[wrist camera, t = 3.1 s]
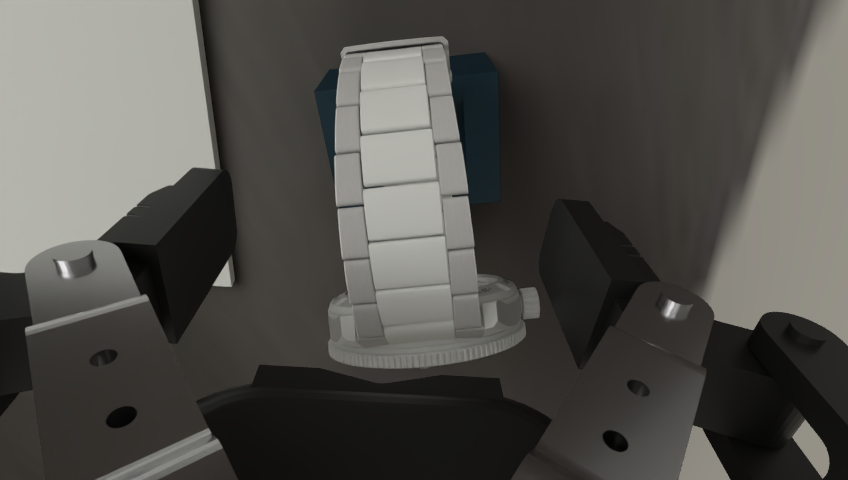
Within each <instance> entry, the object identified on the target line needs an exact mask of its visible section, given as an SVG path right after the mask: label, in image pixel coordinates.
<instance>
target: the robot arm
mask: <svg viewBox="0 0 848 480" xmlns="http://www.w3.org/2000/svg"><path fill="white" fill-rule="evenodd" d="M236 237H237V228H236V218H235V209H234V200H233V191H232V183H231V177H230V174H229V172H228V171H227V170H220V169H209V168H197V167H193V168H191V169H190V170H189V171H188V172H187V173H186V174H185V175H184V176H183V177H182V178H181V179H180V180H178V181H177V182H176V183H175V184H174V185H168V186H166V187H163V188H161V189H159V190H157V191H154V192H152V193H150V194H148V195H147V196H146V197H145V198H144V199H143V200H142V201H140V202H139V203H138V204H137V207H134V208H132V209H131V210H130V211H129V212H128V213H127V216H123V217H122V218H121V219H120V220H119V221H118V222H117V223H116V224H114V225H113V226H112V227H111V228H110V229H109V230H108V231H107V232H105V233H104V234H103V235H102V236H101V237H100V238H99V239H98V240H83V241H75V242H69V243H65V244H61V245H58V246H55V247H52V248H50V249H47V250H45V251H43V252H41V253H39V254H38V255H36V256H34V257H33V258H32V259H31V260H30V261H29V262H28V263H27V265H26V267H25V272H24V273H15V274H5V275H0V416H1V415H2V414H3V412H4V411H5V410H6V409H7V408H8V406H9V405H10V404H11V403H12V402H13V400H14V399H15V398H16V397H17V395H18V394H19V392H24V391H29V390H33V394H34V401H35V409H36V416H37V423H38V431H39V438H40V446H41V453H42V460H43V468H44V475H45V480H678V478H679V474H680V471H681V467H682V463H683V459H684V455H685V452H686V448H687V444H688V441H689V437H690V433H691V429H692V426H693V425H694V426H698V427H701V428H703V430H704V432H705V434H706V436H707V438H708V440H709V442H710V443H711V445H712V447H713V449H714V451H715V452H716V454H717V456H718V458H719V460H720V461H721V463H722V465H723V467H724V469H725V470H726V472H727V474H728V476H729V478H730V479H731V480H848V346H847V345H846V344H845V343H844V342H843V341H842V340H841V339H839V338H838V337H837V336H836V335H835V334H833V333H832V332H830V331H829V330H827V329H826V328H824V327H822V326H820V325H818V324H817V323H814V322H812V321H810V320H808V319H805V318H802V317H799V316H796V315H792V314H789V313H783V312H769V313H766V314H764V315H763V316H762V317H761V319H760V321H759V322H758V324H757V325H756V327H755V329H754V330H749V329H745V328H742V327H738V326H734V325H730V324H726V323H722V322H719V321H716V320H714V312H713V310H712V309H711V307H710V306H709V305H708V304H707V303H706V302H705V301H704V300H703V299H702V298H700V297H699V296H697V295H696V294H694V293H693V292H691V291H689V290H687V289H684V288H682V287H679V286H677V285H673V284H670V283H665V282H661V281H660V280H659V278H658V277H657V276H656V275H655V273H654V272H653V271H652V269H651V268H650V267H649V266H648V264H647V263H646V262H645V260H644V259H643V258H642V257H640V254H639V253H638V251H637V250H636V249H635V248H634V247H632V244H631V242H630V241H629V240H628V238H627V237H626V236H625V235H624V233H623V232H621V231H620V230H618V229H617V228H615V227H614V226H612V225H611V224H609V223H608V222H604V221H603V220H602V219H601V217H600V216H599V215H598V213H597V212H596V211H595V209H594V208H593V207H592V205H591V204H590V203H589V202H588V201H576V200H565V199H558V200H557V201H556V202H555V203H554V206H553V208H552V212H551V215H550V219H549V223H548V227H547V230H546V234H545V238H544V242H543V245H542V249H541V253H540V260H539V270H540V275H541V278H542V281H543V283H544V286H545V288H546V290H547V293H548V295H549V298H550V300H551V303H552V305H553V308H554V310H555V312H556V315H557V317H558V320H559V322H560V325H561V327H562V330H563V332H564V335H565V337H566V339H567V342H568V344H569V347H570V349H571V352H572V354H573V357H574V359H575V361H576V364H577V366H578V369H583V370H582V372H581V373H580V375H579V377H578V378H577V380H576V382H575V383H574V385H573V387H572V388H571V390H570V391H569V393H568V395H567V396H566V398H565V400H564V401H563V403H562V405H561V406H560V408H559V410H558V411H557V413H556V414H555V416H554V418H553V419H550V418H549V417H547V416H545V415H544V414H542V413H540V412H539V411H537V410H535V409H533V408H531V407H529V406H527V405H525V404H522V403H519V402H517V401H514V400H511V399H508V398H505V397H503V393H502V389H501V384H500V379H499V378H483V377H465V376H448V375H440V376H433V377H426V378H420V379H413V380H406V381H399V382H393V383H385V384H380V383H374V382H370V381H366V380H363V379H359V378H355V377H351V376H347V375H344V374H340V373H336V372H332V371H329V370H325V369H321V368H308V367H290V366H273V365H259V367H258V370H257V373H256V375H255V378H254V381H253V383H252V384H246V385H241V386H237V387H233V388H229V389H226V390H223V391H220V392H217V393H214V394H211V395H209V396H207V397H205V398H202V399H200V400H198V401H196V400H195V398H194V396H193V393H192V391H191V389H190V387H189V385H188V383H187V380H186V378H185V376H184V374H183V372H182V370H181V367H180V365H179V363H178V361H177V359H176V357H175V355H174V352H173V350H172V348H171V346H170V344H169V343H172V344H177V343H178V341H179V339H180V338H181V336H182V335H183V333H184V331H185V330H186V328H187V326H188V325H189V323H190V322H191V320H192V318H193V317H194V315H195V313H196V312H197V310H198V309H199V307H200V305H201V304H202V302H203V300H204V299H205V297H206V295H207V294H208V292H209V291H210V289H211V287H212V286H213V284H214V282H215V281H216V279H217V278H218V276H219V274H220V273H221V271H222V269H223V268H224V266H225V265H226V263H227V261H228V260H229V258H230V256H231V255H232V253H233V251H234V248H235V244H236ZM805 419H806V421H807V422H808V423H809V424H810V426H811V427H812V428H813V429H814V431H815V432H816V433H817V434H818V436H819V437H820V438H821V440H822V441H823V442H824V444H825V446H826V448H827V451H828V454H829V461H830V465H829V470H828V473H827V474H826V476H825V477H824V478H823V479H822V478H821V476H820V475H819V474H818V472H817V471H816V469H815V468H814V467H813V465H812V464H811V463H810V461H809V460H808V459H807V457H806V456H805V455H804V453H803V452H802V450H801V449H800V448H799V446H798V445H797V444H796V442H795V441H794V439H793V438H792V436H793V435H794V433H795V432H796V431H797V429H798V428H799V427H800V426H801V424H802V423H803V422H804V420H805Z"/></svg>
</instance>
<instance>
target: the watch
mask: <svg viewBox="0 0 848 480" xmlns="http://www.w3.org/2000/svg"><path fill="white" fill-rule="evenodd" d="M341 58H342V62H341V65H340V68H339V69H332V70H329V71H328V73H327V74H326V76H325V77H324V78H323V80H322V81H321V83H320V84H319V86H318V87H317V88H316V90H315V91H314V93H315V97H316V102H317V106H318V111H319V116H320V120H321V125H322V129H323V134H324V139H325V143H326V148H327V152H328V157H329V161H330V166H331V171H332V175H333V180H334V184H335V193H336V205H337V207H340V209H338V222H339V234H340V244H341V254H342V259H343V260H345V261H344V270H345V277H346V284H347V291H346V292H344V293H342V294H341V295H339V296H337V297H336V298H334V299H333V300H332V301H331V303H330V305H329V309H328V318H329V328H330V337H331V339H330V340H329V342H328V348H329V355H330V356H331V357H332V358H333V359H334V360H336V361H338V362H341V363H344V364H348V365H353V366H359V367H366V368H378V369H407V368H422V369H424V368H429V367H433V366H441V365H449V364H455V363H461V362H465V361H470V360H475V359H479V358H483V357H486V356H490V355H493V354H496V353H499V352H501V351H504V350H506V349H508V348H511V347H512V346H515V345H516V344H518V343H519V342H521V341H522V340H523V339H524V337H525V336H526V328H525V323H524V321H523V320H522V319H521V316H522V318H523V319H532V318H539V316H540V303H539V297H538V293H537V290H536V288H535V287H531V288H521V289H519V291H518V289H517V287H516V285H515V284H514V283H513V282H512V281H510V280H507V279H504V278H501V277H499V276H495V275H487V274H477V271H476V262H475V254H474V248H473V247H474V246H475V245H474V237H473V229H472V222H471V214H470V207H469V205H470V204H480V203H490V202H500V152H499V99H498V71H497V70H496V68H495V67H494V65H493V64H492V63H491V61H490V60H489V59H488V57H487V56H486V54H485V53H476V54H467V55H458V56H449V47H448V41H447V40H446V39H445V38H444V37H443V36H440V37H427V38H416V39H406V40H396V41H387V42H379V43H371V44H364V45H357V46H350V47H344V49H343V50H342V52H341ZM442 210H443V211H442ZM442 234H443V235H442ZM380 240H384V241H380ZM370 241H374V242H370Z"/></svg>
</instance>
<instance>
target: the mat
mask: <svg viewBox="0 0 848 480" xmlns="http://www.w3.org/2000/svg"><path fill="white" fill-rule="evenodd" d="M193 167H197V168H209V169H220V162H219V154H218V147H217V139H216V131H215V124H214V116H213V108H212V101H211V93H210V86H209V78H208V70H207V63H206V55H205V47H204V40H203V32H202V25H201V17H200V9H199V2H198V0H0V272H8V273H24V272H25V267H26V265H27V263H28V262H29V261H30V260H31V259H32V258H33V257H34V256H36V255H38V254H39V253H41V252H43V251H45V250H47V249H50V248H52V247H55V246H58V245H61V244H65V243H69V242H75V241H83V240H98V239H99V238H100V237H101V236H102V235H103V234H104V233H105V232H107V231H108V230H109V229H110V228H111V227H112V226H113V225H114V224H116V223H117V222H118V221H119V220H120V219H121V218H122V217H123V216H127V213H128V212H129V211H130V210H131V209H132V208H134V207H137V204H138V203H139V202H140V201H142V200H143V199H144V198H145V197H146V196H147V195H148V194H150V193H152V192H154V191H157V190H159V189H161V188H163V187H166V186H168V185H174V184H175V183H176V182H177V181H178V180H180V179H181V178H182V177H183V176H184V175H185V174H186V173H187V172H188V171H189V170H190V169H191V168H193ZM220 170H221V169H220ZM234 281H235V276H234V268H233V261H232V255H231V256H230V258H229V260H228V261H227V263H226V265H225V266H224V268H223V269H222V271H221V273H220V274H219V276H218V278H217V279H216V281H215V282H214V284H213V286H225V287H232V285H233V283H234Z"/></svg>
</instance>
